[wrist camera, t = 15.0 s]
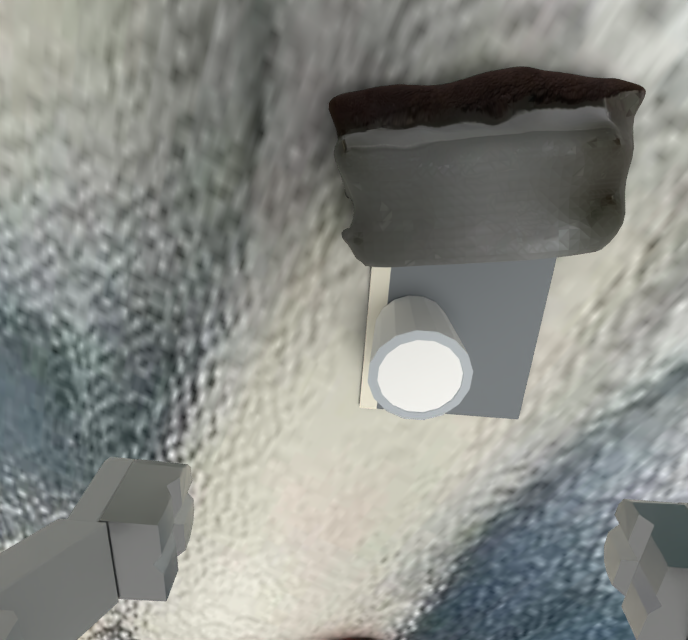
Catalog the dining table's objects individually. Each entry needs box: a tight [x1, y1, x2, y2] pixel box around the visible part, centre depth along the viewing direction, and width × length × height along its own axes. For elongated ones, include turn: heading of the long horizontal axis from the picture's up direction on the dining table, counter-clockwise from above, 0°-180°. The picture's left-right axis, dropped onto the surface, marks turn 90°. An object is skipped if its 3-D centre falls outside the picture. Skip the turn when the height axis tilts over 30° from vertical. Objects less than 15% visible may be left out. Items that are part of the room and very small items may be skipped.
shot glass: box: [368, 295, 473, 420], centre depth 40 cm, size 7×7×7 cm
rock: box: [329, 67, 646, 267], centre depth 35 cm, size 18×11×8 cm, turn 96°
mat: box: [359, 257, 557, 419], centre depth 44 cm, size 14×13×1 cm
